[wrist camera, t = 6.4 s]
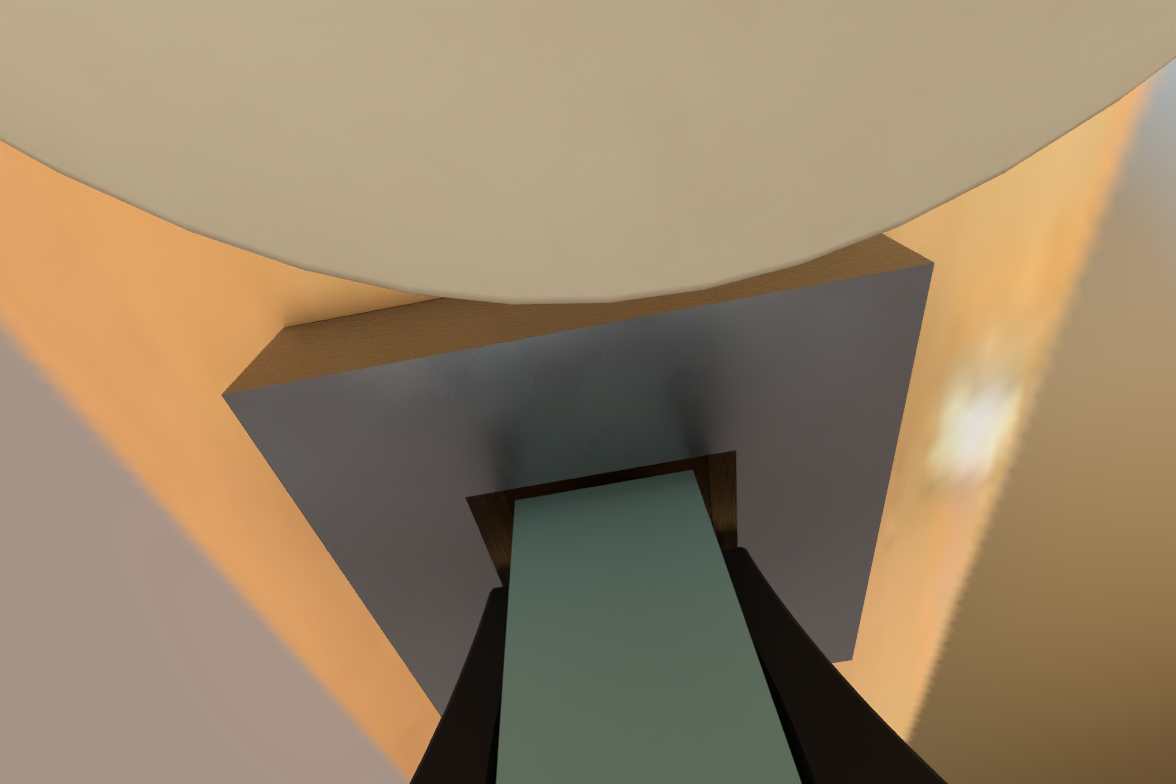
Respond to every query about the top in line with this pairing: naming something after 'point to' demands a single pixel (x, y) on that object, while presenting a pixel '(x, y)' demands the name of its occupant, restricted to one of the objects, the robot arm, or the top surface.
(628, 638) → the peg block
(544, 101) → the candle
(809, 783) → the robot arm
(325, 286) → the top surface
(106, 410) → the top surface
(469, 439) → the square hole plate
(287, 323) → the top surface
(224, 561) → the top surface
